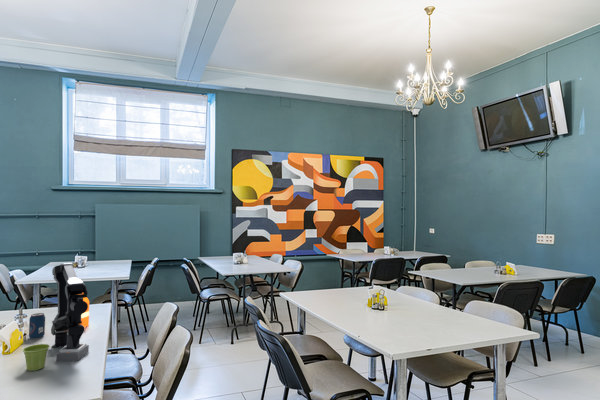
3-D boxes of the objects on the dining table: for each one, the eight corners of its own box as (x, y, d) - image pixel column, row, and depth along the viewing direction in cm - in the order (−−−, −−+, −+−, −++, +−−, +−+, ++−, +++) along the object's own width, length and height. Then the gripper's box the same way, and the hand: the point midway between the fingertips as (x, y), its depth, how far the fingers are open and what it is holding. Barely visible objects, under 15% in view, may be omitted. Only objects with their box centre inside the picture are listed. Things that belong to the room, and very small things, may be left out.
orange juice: (88, 325, 227) (90, 291, 227) (78, 330, 218) (80, 294, 219) (76, 325, 227) (77, 290, 228) (65, 329, 219) (67, 293, 219)
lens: (78, 346, 181) (79, 329, 181) (80, 349, 177) (80, 332, 177) (65, 348, 178) (66, 331, 178) (67, 352, 174) (67, 334, 174)
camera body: (68, 353, 182) (68, 342, 182) (88, 352, 183) (88, 342, 183) (56, 361, 171) (56, 351, 171) (77, 361, 172) (78, 350, 172)
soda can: (25, 338, 203) (26, 315, 203) (39, 334, 209) (40, 312, 209) (33, 340, 200) (34, 316, 200) (47, 336, 206) (48, 313, 206)
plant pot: (19, 374, 158) (20, 352, 158) (25, 366, 166) (25, 345, 166) (46, 370, 161) (47, 349, 162) (50, 362, 170) (51, 342, 170)
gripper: (52, 308, 180) (50, 342, 180) (55, 316, 166) (54, 353, 165) (79, 305, 187) (78, 337, 187) (85, 313, 172) (83, 348, 172)
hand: (73, 344), depth 177 cm, fingers open, 9 cm apart
